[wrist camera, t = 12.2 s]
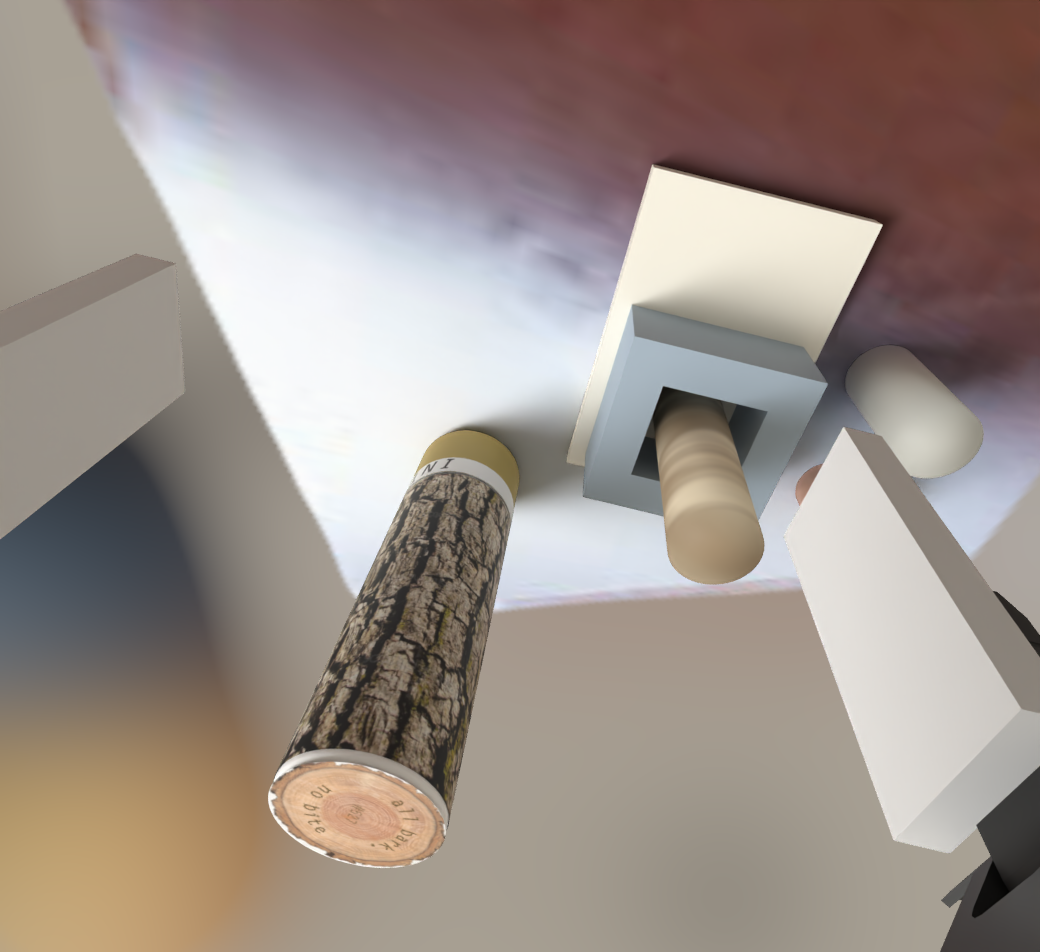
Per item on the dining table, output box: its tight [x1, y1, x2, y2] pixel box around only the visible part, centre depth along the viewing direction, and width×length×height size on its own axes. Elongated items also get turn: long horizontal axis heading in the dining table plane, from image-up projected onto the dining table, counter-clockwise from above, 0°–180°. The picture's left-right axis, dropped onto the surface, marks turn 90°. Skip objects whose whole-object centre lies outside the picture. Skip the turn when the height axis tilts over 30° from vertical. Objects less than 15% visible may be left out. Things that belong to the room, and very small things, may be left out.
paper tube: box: [268, 430, 519, 868], centre depth 36 cm, size 7×7×25 cm
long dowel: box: [653, 386, 764, 584], centre depth 35 cm, size 4×4×14 cm
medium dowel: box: [845, 345, 984, 478], centre depth 36 cm, size 4×4×8 cm
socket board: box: [566, 164, 883, 520], centre depth 37 cm, size 18×12×6 cm, turn 168°
